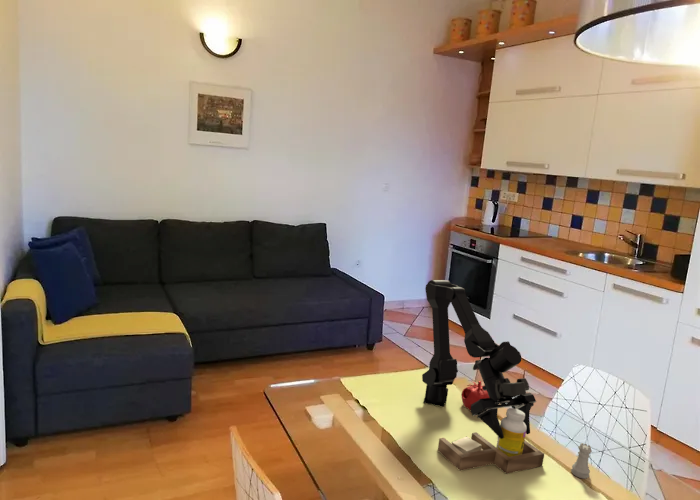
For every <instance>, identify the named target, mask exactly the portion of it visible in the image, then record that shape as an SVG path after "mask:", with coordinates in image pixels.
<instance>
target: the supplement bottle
mask: <svg viewBox="0 0 700 500" xmlns="http://www.w3.org/2000/svg"><path fill="white" fill-rule="evenodd" d="M505 415H506V416H505V417H503V418H502V419H501V420H500V426H501V429H502V432H503V435H504V438H502V439H500V438H499V437H498V436H497V441H496V442H497V443H496V445H495V447H496V448H498V449H499V450H500V451H502V452H503V453H504V454H506V455H507V456H508V457H511V456H516V455H521V454H522V452H523V447H524V441H526V435H527V434H526V430H527V426H526V424H525V423H524V422H523V420H524V419H525V413H524V412H522V411H521V410H518V409H514V408H512V407H511V408H509V407H508V408H507V409H506V413H505Z"/></svg>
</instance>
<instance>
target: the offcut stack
mask: <svg viewBox="0 0 700 500" xmlns="http://www.w3.org/2000/svg"><path fill="white" fill-rule="evenodd" d="M451 444H452V445H453V446H455V447H456V448H457V449H458V450H459V451H460V452H462V453H463V454H464V453H470V452H475V451H481V450H483V449H481V447H482V445H481V444H479V443H477V442H476V441H474V440H472V439H471V437H469V436H464V437H462V438H459V439H456V440H454V441H452V442H451Z"/></svg>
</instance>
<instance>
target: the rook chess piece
mask: <svg viewBox="0 0 700 500" xmlns="http://www.w3.org/2000/svg"><path fill="white" fill-rule="evenodd" d="M577 449H578V450H579V451H578V452H577V455H578V456H577V458H576V461H575V462H574V463H573V464H572V465H571V469H570V471H571V474H573V475H574V477H577V478H579V479H583V480H585V479H588V478H589V477H590V473H591V471H590V467H589V458H590V454H591V453H593V452H592V447H591V445H589V444H588V443H583V442H581V443H580V445H579V446H578V447H577Z"/></svg>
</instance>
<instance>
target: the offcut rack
mask: <svg viewBox="0 0 700 500" xmlns="http://www.w3.org/2000/svg"><path fill="white" fill-rule="evenodd" d="M470 439H472V440H474V441H476V442H477V443H479V444H481V445H482V447H481V449H483V450H481V451H475V452H470V453H464V454H463V453H462V452H460V451H459V450H458V449H457V448H456V447H455V446H453V445H452V442H450V441H449V440H447V439H446V438H445V437H439V439H438V444H437V445H438V447H437V451H438V453H439V454H441V455H442V456H443V457H444V458H446V460H448V462H450V463H451V464H452V465H453V466H454V467H455V468H456V469H457V470H459V471H466V470H470V469H476V468H479V467H480V468H481V467H485V466H491V465H494V466H495V467H497V468H498V469H499V470H501V471H502V472H503V473H504V474H505V475H507V474H512V473H517V472H522V471H526V470H531V469H534V468H535V469H536V468H540V467H543V464H544V463H543V462H544V460H545V459H544V458H545V453H544V452H543V451H542V450H540V449H538V447H536V446H534V445H533V444H531V443H530V442H528V441H526V440H525V441H524V447H523V452H522V454H521V455H516V456H511V457H508V456H507V455H506V454H504V453H503V452H502V451H500V450H499V449H498V448H496V445H494V444H492V443H491V442H490V441H489V440H487V439H486V438H485V437H483V436H482V435H480V434H479V433H478V432H472V433H471V437H470Z"/></svg>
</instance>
